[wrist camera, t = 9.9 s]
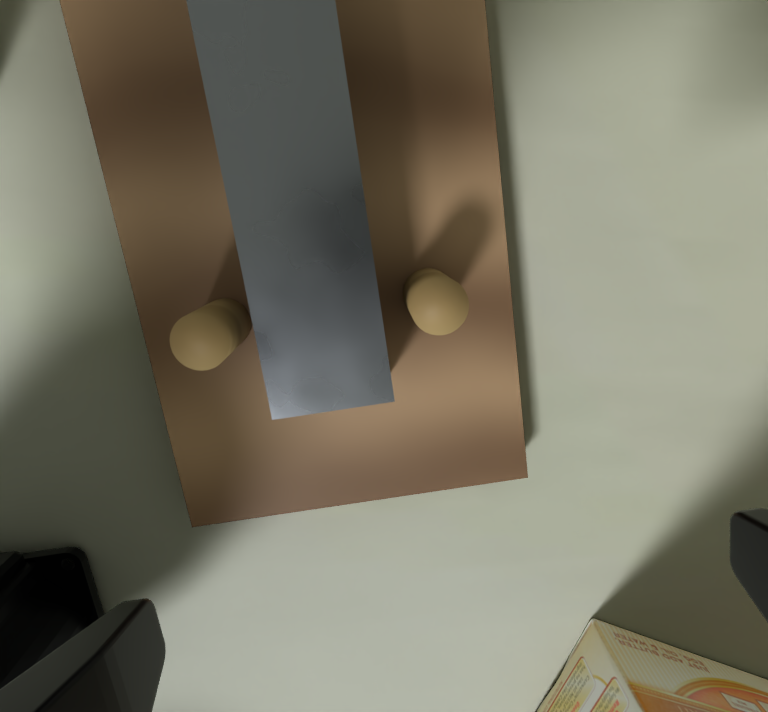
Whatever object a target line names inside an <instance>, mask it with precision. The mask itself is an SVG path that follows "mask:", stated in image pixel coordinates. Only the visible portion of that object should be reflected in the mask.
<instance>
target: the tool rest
mask: <svg viewBox="0 0 768 712" xmlns="http://www.w3.org/2000/svg"><path fill="white" fill-rule="evenodd" d="M335 2H336V9H337V16H338V23H339V29H340V36H341V43H342V50H343V56H344V63H345V70H346V76H347V83H348V90H349V97H350V103H351V110H352V117H353V124H354V130H355V137H356V144H357V150H358V157H359V164H360V171H361V177H362V184H363V191H364V198H365V204H366V211H367V218H368V224H369V231H370V238H371V245H372V251H373V258H374V265H375V272H376V278H377V285H378V292H379V298H380V305H381V312H382V319H383V325H384V332H385V339H386V346H387V352H388V359H389V366H390V372H391V379H392V386H393V393H394V399H395V402H389V403H383V404H376V405H369V406H363V407H356V408H349V409H343V410H336V411H329V412H323V413H316V414H309V415H303V416H296V417H289V418H283V419H276V420H272V416H271V412H270V407H269V402H268V397H267V392H266V387H265V382H264V377H263V373H262V368H261V363H260V358H259V353H258V348H257V343H256V338H255V334H254V329H253V324H252V319H251V314H250V309H249V304H248V299H247V295H246V290H245V285H244V280H243V275H242V270H241V265H240V261H239V256H238V251H237V246H236V241H235V236H234V231H233V226H232V222H231V217H230V212H229V207H228V202H227V197H226V192H225V187H224V183H223V178H222V173H221V168H220V163H219V158H218V153H217V148H216V144H215V139H214V134H213V129H212V124H211V119H210V114H209V109H208V105H207V100H206V95H205V90H204V85H203V80H202V75H201V70H200V66H199V61H198V56H197V51H196V46H195V41H194V36H193V31H192V27H191V22H190V17H189V12H188V7H187V2H186V0H60V4H61V8H62V12H63V16H64V20H65V24H66V28H67V32H68V36H69V40H70V44H71V48H72V52H73V56H74V60H75V64H76V68H77V71H78V75H79V79H80V83H81V87H82V91H83V95H84V99H85V103H86V107H87V111H88V115H89V119H90V123H91V127H92V131H93V135H94V139H95V143H96V147H97V151H98V155H99V159H100V163H101V167H102V171H103V175H104V179H105V183H106V187H107V191H108V195H109V199H110V203H111V207H112V211H113V215H114V219H115V223H116V227H117V231H118V235H119V239H120V243H121V247H122V251H123V255H124V259H125V263H126V266H127V270H128V274H129V278H130V282H131V286H132V290H133V294H134V298H135V302H136V306H137V310H138V314H139V318H140V322H141V326H142V330H143V334H144V338H145V342H146V346H147V350H148V354H149V358H150V362H151V366H152V370H153V374H154V378H155V382H156V386H157V390H158V394H159V398H160V402H161V406H162V410H163V414H164V418H165V422H166V426H167V430H168V434H169V438H170V442H171V446H172V450H173V454H174V458H175V461H176V465H177V469H178V473H179V477H180V481H181V485H182V489H183V493H184V497H185V501H186V505H187V509H188V513H189V517H190V521H191V525H192V527H197V526H203V525H210V524H217V523H224V522H230V521H237V520H244V519H251V518H257V517H264V516H271V515H278V514H285V513H291V512H298V511H305V510H312V509H318V508H325V507H332V506H339V505H345V504H352V503H359V502H366V501H372V500H379V499H386V498H393V497H399V496H406V495H413V494H420V493H426V492H433V491H440V490H447V489H453V488H460V487H467V486H474V485H480V484H487V483H494V482H501V481H507V480H514V479H521V478H528V474H527V463H526V452H525V440H524V429H523V418H522V407H521V396H520V385H519V374H518V363H517V352H516V341H515V329H514V318H513V307H512V296H511V285H510V274H509V263H508V252H507V241H506V230H505V219H504V207H503V196H502V185H501V174H500V163H499V152H498V141H497V130H496V119H495V108H494V96H493V85H492V74H491V63H490V52H489V41H488V30H487V19H486V8H485V0H335Z"/></svg>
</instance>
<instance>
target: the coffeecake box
mask: <svg viewBox="0 0 768 712" xmlns="http://www.w3.org/2000/svg"><path fill="white" fill-rule="evenodd" d="M537 712H768V680H766V679H764V678H761V677H758V676H755V675H752V674H749V673H747V672H744V671H741V670H738V669H735V668H733V667H730V666H727V665H724V664H721V663H718V662H716V661H713V660H710V659H707V658H704V657H701V656H698V655H696V654H693V653H690V652H687V651H684V650H681V649H678V648H676V647H673V646H670V645H667V644H664V643H661V642H659V641H656V640H653V639H650V638H647V637H645V636H642V635H639V634H636V633H633V632H631V631H628V630H625V629H622V628H619V627H617V626H614V625H611V624H608V623H605V622H603V621H600V620H597V619H594V618H593V619H591V620H590V622H589V623H588V625H587V627H586V628H585V630H584V632H583V633H582V635H581V637H580V639H579V640H578V642H577V644H576V646H575V647H574V649H573V651H572V652H571V654H570V656H569V658H568V660H567V663H566V665H565V667H564V669H563V671H562V673H561V675H560V677H559V679H558V680H557V682H556V684H555V685H554V687H553V688H552V689H551V691H550V692H549V694H548V695H547V697H546V698H545V699H544V701H543V702H542V704H541V705H540V707H539V709H538V710H537Z"/></svg>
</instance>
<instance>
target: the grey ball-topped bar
mask: <svg viewBox="0 0 768 712" xmlns="http://www.w3.org/2000/svg"><path fill="white" fill-rule="evenodd" d="M186 2H187V7H188V12H189V17H190V22H191V27H192V31H193V36H194V41H195V46H196V51H197V56H198V61H199V66H200V70H201V75H202V80H203V85H204V90H205V95H206V100H207V105H208V109H209V114H210V119H211V124H212V129H213V134H214V139H215V144H216V148H217V153H218V158H219V163H220V168H221V173H222V178H223V183H224V187H225V192H226V197H227V202H228V207H229V212H230V217H231V222H232V226H233V231H234V236H235V241H236V246H237V251H238V256H239V261H240V265H241V270H242V275H243V280H244V285H245V290H246V295H247V299H248V304H249V309H250V314H251V319H252V324H253V329H254V334H255V338H256V343H257V348H258V353H259V358H260V363H261V368H262V373H263V377H264V382H265V387H266V392H267V397H268V402H269V407H270V412H271V416H272V420H276V419H283V418H289V417H296V416H303V415H309V414H316V413H323V412H329V411H336V410H343V409H349V408H356V407H363V406H369V405H376V404H383V403H389V402H395V399H394V393H393V386H392V379H391V372H390V366H389V359H388V352H387V346H386V339H385V332H384V325H383V319H382V312H381V305H380V298H379V292H378V285H377V278H376V272H375V265H374V258H373V251H372V245H371V238H370V231H369V224H368V218H367V211H366V204H365V198H364V191H363V184H362V177H361V171H360V164H359V157H358V150H357V144H356V137H355V130H354V124H353V117H352V110H351V103H350V97H349V90H348V83H347V76H346V70H345V63H344V56H343V50H342V43H341V36H340V29H339V23H338V16H337V9H336V2H335V0H186Z"/></svg>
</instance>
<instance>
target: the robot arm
mask: <svg viewBox="0 0 768 712" xmlns="http://www.w3.org/2000/svg"><path fill="white" fill-rule="evenodd" d="M67 559H71V560H73V561H74V563H75V564H71V563H69V562H68V561H67ZM730 562H731V566H732V569H733V572H734V574H735V575H736V577H737V579H738V580H739V582H740V583H741V584H742V586H743V587H744V589H745V590H746V592H747V593H748V595H749V596H750V598H751V599H752V600H753V602H754V603H755V605H756V606H757V608H758V609H759V611H760V612H761V613H762V615H763V616H764V618H765V619H766V621H767V622H768V510H767V509H763V508H755V509H748V510H741V511H736V512H735V513H734V514H732V516H731V519H730ZM164 660H165V642H164V638H163V634H162V631H161V627H160V624H159V620H158V616H157V613H156V609H155V606H154V604H153V602H152V601H151V600H149V599H147V598H145V599H138V600H131V601H125V602H122V603H120V604H119V605H117V606H116V607H114V608H113V609H112V610H110V611H109V612H107V613H106V614H105V615H104V612H103V609H102V606H101V603H100V599H99V596H98V593H97V589H96V586H95V583H94V580H93V576H92V573H91V570H90V567H89V563H88V560H87V557H86V555H85V553H84V552H83V551H82V550H81V549H79V548H76V547H65V548H59V549H52V550H45V551H38V552H32V553H25V554H22V553H20V552H15V551H12V552H6V553H0V712H152V709H153V705H154V701H155V697H156V693H157V689H158V685H159V681H160V677H161V673H162V669H163V665H164Z"/></svg>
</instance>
